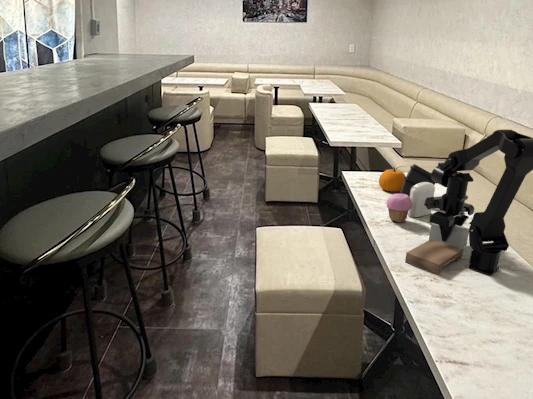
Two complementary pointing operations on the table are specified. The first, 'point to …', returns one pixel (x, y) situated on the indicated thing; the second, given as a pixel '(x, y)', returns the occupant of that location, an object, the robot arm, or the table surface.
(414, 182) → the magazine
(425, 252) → the walnut stand
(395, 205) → the cupcake
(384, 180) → the fruit
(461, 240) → the block
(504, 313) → the table surface
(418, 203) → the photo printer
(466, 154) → the robot arm
